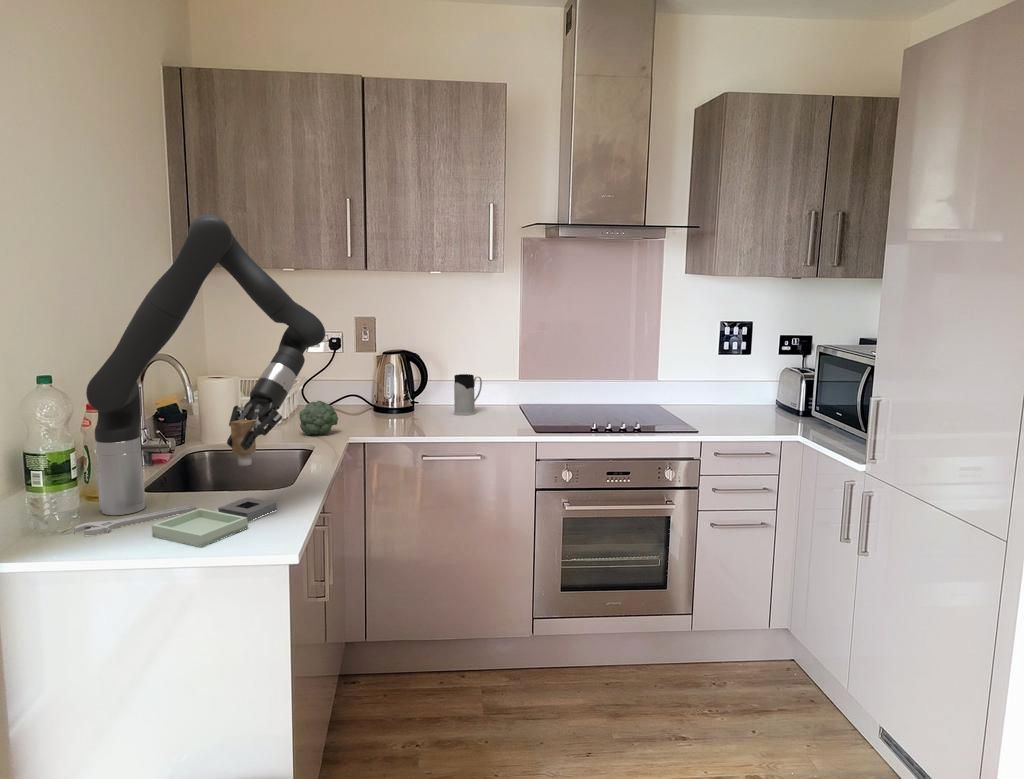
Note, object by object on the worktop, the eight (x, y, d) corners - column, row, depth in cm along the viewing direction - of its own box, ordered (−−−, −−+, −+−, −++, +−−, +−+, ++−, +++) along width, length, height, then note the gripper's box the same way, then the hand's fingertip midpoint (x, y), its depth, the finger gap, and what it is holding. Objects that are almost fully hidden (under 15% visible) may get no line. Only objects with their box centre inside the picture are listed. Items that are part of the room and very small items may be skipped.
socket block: (218, 517, 173) (218, 507, 172) (248, 506, 180) (248, 497, 180) (247, 522, 169) (247, 513, 168) (277, 511, 176) (276, 502, 176)
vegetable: (348, 422, 267) (339, 411, 253) (323, 449, 264) (312, 440, 250) (324, 401, 269) (313, 389, 255) (298, 428, 267) (286, 417, 252)
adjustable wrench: (194, 510, 179) (194, 503, 179) (202, 517, 174) (202, 510, 174) (74, 532, 164) (74, 524, 164) (79, 540, 159) (78, 532, 159)
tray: (152, 536, 160) (151, 525, 160) (200, 518, 171) (199, 508, 171) (201, 547, 154) (200, 535, 153) (248, 528, 165) (247, 517, 164)
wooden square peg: (233, 465, 172) (230, 422, 170) (245, 461, 175) (242, 419, 173) (244, 466, 170) (242, 423, 169) (256, 463, 173) (254, 420, 172)
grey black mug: (448, 413, 294) (448, 375, 292) (473, 408, 305) (473, 371, 302) (465, 416, 289) (464, 377, 286) (489, 411, 299) (489, 373, 297)
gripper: (242, 374, 179) (204, 434, 170) (287, 378, 173) (250, 441, 164) (260, 393, 185) (224, 452, 176) (304, 397, 179) (269, 459, 170)
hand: (237, 446), depth 170 cm, fingers closed on wooden square peg, 3 cm apart
